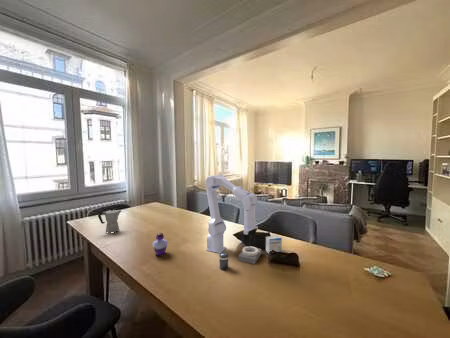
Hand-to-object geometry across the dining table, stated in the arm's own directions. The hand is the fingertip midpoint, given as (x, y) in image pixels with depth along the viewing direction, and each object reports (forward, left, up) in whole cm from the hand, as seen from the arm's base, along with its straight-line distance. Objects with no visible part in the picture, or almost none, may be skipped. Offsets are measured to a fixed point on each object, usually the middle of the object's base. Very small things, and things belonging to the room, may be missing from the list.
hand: (249, 243), depth 108 cm
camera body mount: (-1, +5, -10) cm, 11 cm away
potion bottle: (-49, -12, -10) cm, 51 cm away
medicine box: (+9, +16, -10) cm, 21 cm away
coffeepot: (-107, +1, -10) cm, 107 cm away
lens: (-10, -11, -10) cm, 18 cm away
